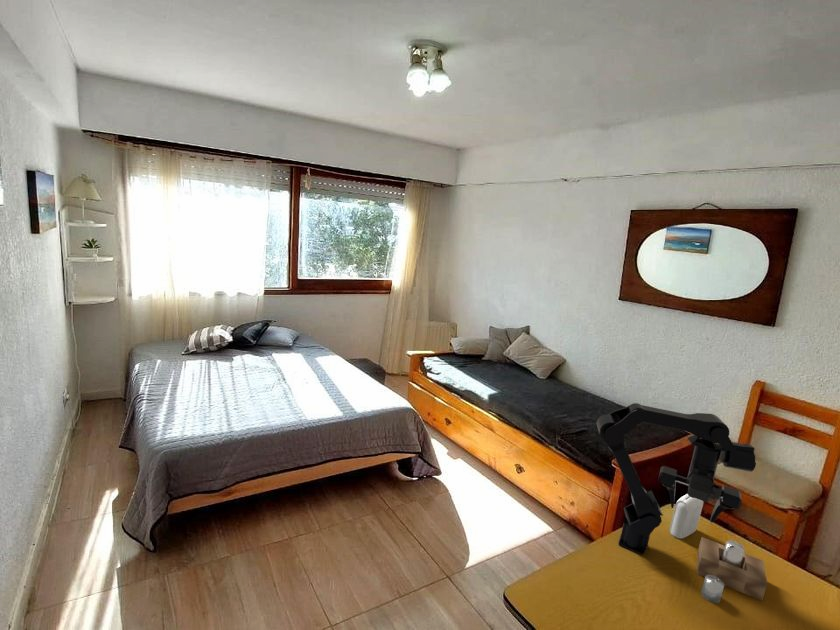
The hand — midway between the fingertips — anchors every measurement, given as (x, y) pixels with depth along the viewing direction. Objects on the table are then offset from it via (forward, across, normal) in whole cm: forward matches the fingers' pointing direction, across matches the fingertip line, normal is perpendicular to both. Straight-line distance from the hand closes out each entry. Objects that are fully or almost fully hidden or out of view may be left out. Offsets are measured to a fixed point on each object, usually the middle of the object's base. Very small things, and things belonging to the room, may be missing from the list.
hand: (691, 514), depth 122 cm
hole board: (+13, +11, 0) cm, 17 cm away
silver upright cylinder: (+13, +11, 0) cm, 17 cm away
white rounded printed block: (+13, 0, +13) cm, 19 cm away
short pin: (+13, +7, -12) cm, 19 cm away
